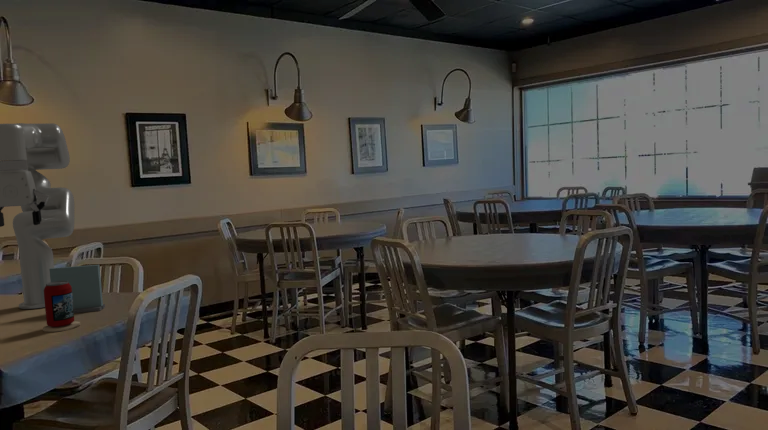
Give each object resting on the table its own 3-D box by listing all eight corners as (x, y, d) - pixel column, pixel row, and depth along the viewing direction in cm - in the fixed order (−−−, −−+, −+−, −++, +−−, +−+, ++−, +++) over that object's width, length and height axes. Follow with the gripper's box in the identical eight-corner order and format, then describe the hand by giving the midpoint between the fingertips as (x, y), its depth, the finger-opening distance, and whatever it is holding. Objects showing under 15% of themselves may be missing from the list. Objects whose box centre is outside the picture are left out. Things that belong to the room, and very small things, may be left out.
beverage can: (62, 328, 153) (58, 285, 152) (41, 328, 154) (36, 285, 153) (80, 322, 159) (76, 280, 158) (59, 321, 160) (55, 280, 160)
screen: (58, 311, 178) (53, 267, 177) (105, 307, 180) (101, 263, 179) (51, 314, 173) (46, 269, 172) (99, 310, 175) (95, 266, 174)
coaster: (51, 324, 160) (51, 322, 160) (85, 321, 162) (84, 319, 162) (37, 333, 151) (36, 331, 151) (72, 330, 153) (72, 328, 153)
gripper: (-28, 168, 158) (-21, 229, 160) (39, 166, 161) (46, 225, 163) (-15, 167, 165) (-8, 225, 167) (50, 165, 168) (56, 222, 170)
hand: (19, 225), depth 165 cm, fingers open, 9 cm apart
